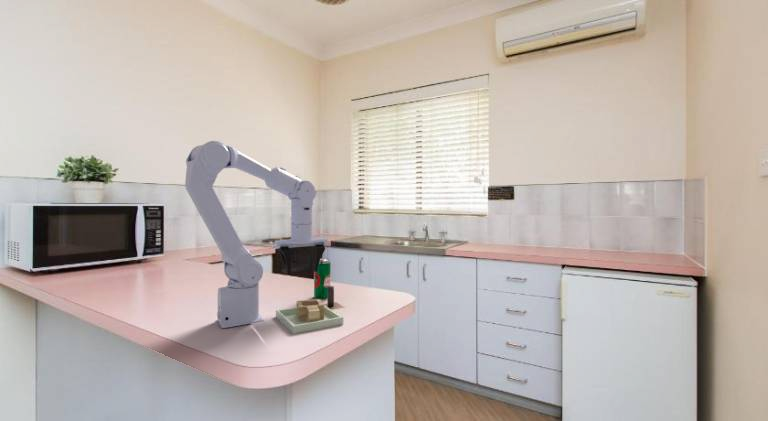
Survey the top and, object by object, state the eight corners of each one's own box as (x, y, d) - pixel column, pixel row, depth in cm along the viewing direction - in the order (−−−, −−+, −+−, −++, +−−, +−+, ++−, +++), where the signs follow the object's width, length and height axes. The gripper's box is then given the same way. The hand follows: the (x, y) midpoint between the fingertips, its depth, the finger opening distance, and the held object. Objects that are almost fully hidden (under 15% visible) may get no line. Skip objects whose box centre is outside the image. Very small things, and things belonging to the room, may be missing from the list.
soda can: (327, 300, 108) (327, 260, 108) (311, 299, 109) (311, 260, 109) (332, 296, 113) (332, 258, 113) (317, 295, 114) (317, 257, 114)
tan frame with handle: (327, 324, 85) (327, 309, 85) (301, 327, 83) (301, 312, 83) (319, 312, 94) (319, 299, 94) (296, 314, 92) (296, 301, 92)
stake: (324, 312, 96) (324, 290, 96) (316, 306, 101) (316, 285, 101) (345, 308, 100) (345, 287, 99) (336, 303, 105) (336, 283, 105)
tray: (293, 335, 79) (293, 326, 79) (275, 318, 91) (275, 310, 91) (343, 325, 86) (343, 317, 86) (321, 310, 98) (321, 303, 98)
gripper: (320, 222, 107) (320, 267, 107) (271, 223, 99) (271, 272, 100) (330, 223, 101) (330, 271, 101) (278, 225, 93) (278, 277, 94)
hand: (301, 272), depth 100 cm, fingers open, 7 cm apart
